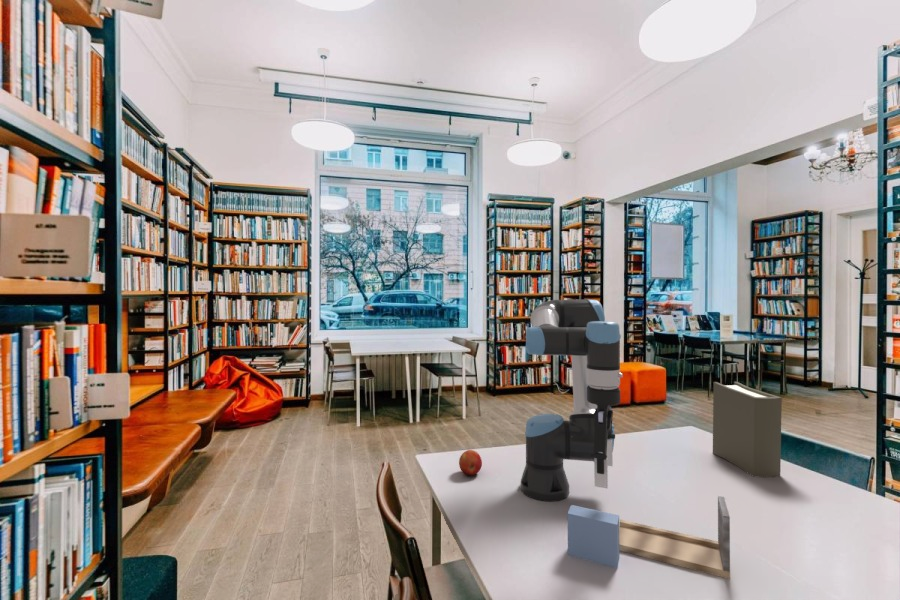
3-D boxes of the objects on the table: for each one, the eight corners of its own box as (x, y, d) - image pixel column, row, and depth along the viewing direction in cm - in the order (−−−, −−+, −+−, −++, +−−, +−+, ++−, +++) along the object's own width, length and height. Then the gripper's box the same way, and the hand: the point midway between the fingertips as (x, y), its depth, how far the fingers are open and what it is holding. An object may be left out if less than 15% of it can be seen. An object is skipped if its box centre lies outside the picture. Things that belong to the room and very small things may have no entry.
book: (782, 478, 139) (783, 396, 138) (755, 479, 139) (756, 396, 138) (736, 452, 161) (737, 381, 160) (712, 453, 160) (713, 382, 159)
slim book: (567, 555, 98) (567, 513, 98) (571, 544, 102) (571, 504, 102) (617, 568, 93) (617, 524, 93) (619, 557, 97) (619, 515, 97)
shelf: (616, 549, 100) (615, 494, 100) (620, 528, 109) (619, 478, 109) (730, 578, 89) (729, 516, 89) (724, 553, 98) (723, 496, 98)
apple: (483, 470, 147) (482, 447, 146) (480, 480, 138) (480, 456, 138) (460, 468, 148) (460, 446, 148) (457, 478, 140) (457, 455, 140)
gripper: (616, 398, 85) (617, 501, 85) (623, 378, 108) (624, 459, 108) (579, 395, 89) (579, 494, 89) (593, 376, 111) (593, 455, 111)
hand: (604, 475), depth 98 cm, fingers open, 13 cm apart
